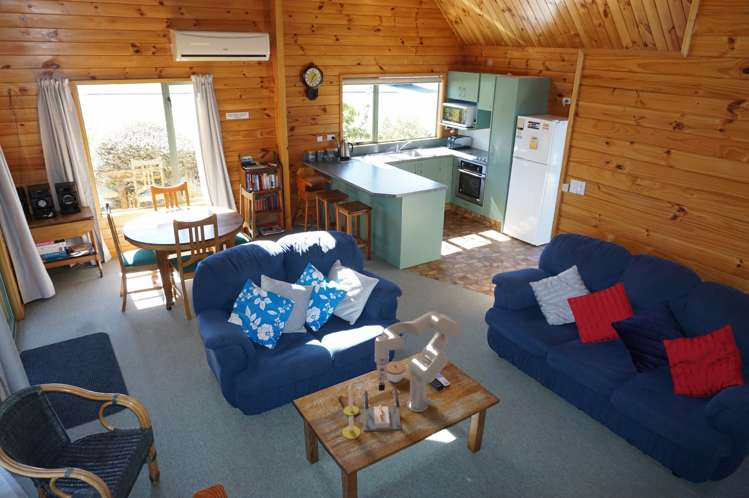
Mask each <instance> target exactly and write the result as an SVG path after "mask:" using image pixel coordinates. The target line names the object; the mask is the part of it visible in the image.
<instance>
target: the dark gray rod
mask: <svg viewBox="0 0 749 498" xmlns="http://www.w3.org/2000/svg"><path fill="white" fill-rule="evenodd" d="M394 393H395V398H396V406H397V408H399V407H400V402H399V401H400V400H399V394H398V390H397V389H394ZM400 408H401V407H400Z"/></svg>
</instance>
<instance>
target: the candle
mask: <svg viewBox="0 0 749 498" xmlns="http://www.w3.org/2000/svg"><path fill="white" fill-rule="evenodd" d="M353 393H354V392H353V386H352V383H350V384H349V386H348V397H349V405H347V406H345V407H344V408H343V409H342V412H343V413H344V415H346V416H347V415H349V417H348V426H346V427H345V428H343V430H342V436H343V437H344V438H346V439H349V440H352V439H353V440H354V439H357V438H358V437H360V436H361V429H360V428H359V427H358V426H356V425H354V422H355V421H354V417H353V415H355V414H357V413H358V411H360V409H359V407H358V406H357V405H356V406H355V405H353V401H354V399H353V397H354V396H353V395H354V394H353Z"/></svg>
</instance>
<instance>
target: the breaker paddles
mask: <svg viewBox="0 0 749 498" xmlns="http://www.w3.org/2000/svg"><path fill="white" fill-rule="evenodd" d="M378 407H379V409H380V418H381V420H382V419H383V415H382V407H383V406H382V404H379V405H378Z"/></svg>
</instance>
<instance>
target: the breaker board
mask: <svg viewBox="0 0 749 498" xmlns="http://www.w3.org/2000/svg"><path fill="white" fill-rule="evenodd" d="M397 392H398V395H400V390H397ZM367 393H368V396H370V391H367ZM392 394H393V396H394V397H393V408H390V409H389V406H387V405H385V406H381V407H382V415H383V419H382V420H381V418H380V409H379V406H373V409H370V408H371V405H370V403H368V409H366V408H365V391H362V395H363V396H364V399H363V401H364V403H363V410H362V414H363V415H362V417H363V419H362V421H363V432H374V431H375V432H376V431H398V430H399V431H401V430H402V426H401V418H400V416H401V415H400V413H401V412H400V409H401V408H402V403H401V402H399V406H400V407H399V408H397V406H396V398H395V390H392Z"/></svg>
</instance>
